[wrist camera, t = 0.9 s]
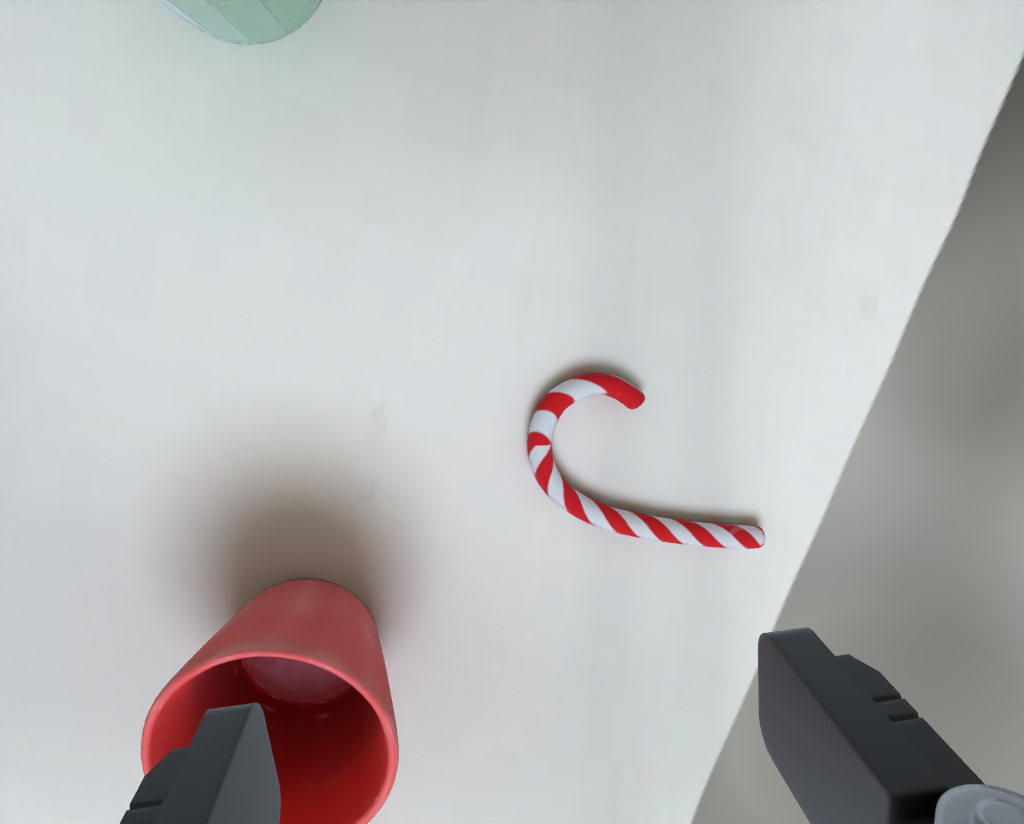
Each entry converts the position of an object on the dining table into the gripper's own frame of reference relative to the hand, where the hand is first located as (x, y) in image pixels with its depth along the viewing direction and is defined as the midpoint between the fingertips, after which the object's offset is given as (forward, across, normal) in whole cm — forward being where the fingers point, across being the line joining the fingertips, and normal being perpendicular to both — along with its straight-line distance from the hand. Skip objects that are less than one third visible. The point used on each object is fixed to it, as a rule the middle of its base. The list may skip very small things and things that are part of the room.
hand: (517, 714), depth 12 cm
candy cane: (+28, -9, +7) cm, 30 cm away
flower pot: (+28, +10, +14) cm, 33 cm away
